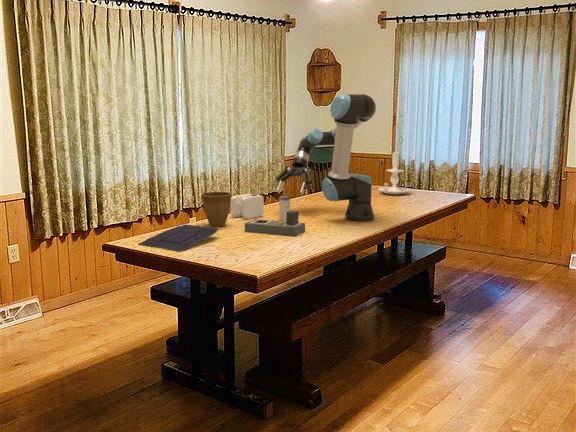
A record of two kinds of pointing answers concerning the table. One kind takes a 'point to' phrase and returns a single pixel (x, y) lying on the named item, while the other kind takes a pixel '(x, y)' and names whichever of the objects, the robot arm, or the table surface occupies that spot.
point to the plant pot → (216, 207)
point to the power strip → (277, 225)
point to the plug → (284, 207)
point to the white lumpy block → (247, 206)
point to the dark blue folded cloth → (179, 237)
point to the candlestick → (394, 179)
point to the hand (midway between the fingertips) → (289, 192)
